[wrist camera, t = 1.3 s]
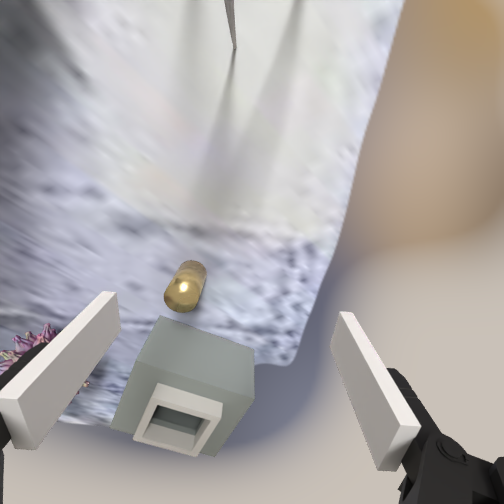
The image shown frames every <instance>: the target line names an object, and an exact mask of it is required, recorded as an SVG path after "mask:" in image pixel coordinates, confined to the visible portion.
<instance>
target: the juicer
mask: <svg viewBox="0 0 504 504" xmlns="http://www.w3.org/2000/svg"><path fill="white" fill-rule="evenodd" d="M224 1H225V7H226V12H227V18H228V23H229V28H230V33H231V38H232V43H233V48H234V50H235V49H236V34H235V16H234V0H224Z"/></svg>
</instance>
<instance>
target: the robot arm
mask: <svg viewBox="0 0 504 504" xmlns="http://www.w3.org/2000/svg"><path fill="white" fill-rule="evenodd" d="M120 331H121V326H120V318H119V310H118V301H117V293H116V292H107V291H102V292H101V293H100V294H99V295H98V296H97V297H96V298H95V299H94V300H93V301H92V302H91V303H90V304H89V305H88V306H87V307H86V308H85V309H84V310H83V311H82V312H81V313H80V314H79V315H78V316H77V317H76V318H75V319H74V320H73V321H72V322H71V323H70V324H69V325H67V326H66V327H65V328H64V329H63V330H62V331H61V332H60V333H59V334H58V335H57V336H56V337H55V338H54V339H53V340H52V341H51V342H50V343H46V342H41V343H39V344H38V345H36V346H34V347H33V348H31V349H29V350H28V351H26V352H25V353H24V354H23V355H22V356H21V357H20V358H19V359H18V360H17V362H14V363H13V364H12V365H11V366H10V367H9V368H8V370H6V371H5V372H3V373H2V374H1V375H0V504H3V472H4V470H3V469H4V454H3V451H2V449H3V448H4V447H5V445H6V444H7V443H8V442H9V441H10V439H11V440H12V443H13V445H14V448H15V449H26V450H36V449H37V448H38V447H39V445H40V444H41V443H42V441H43V440H44V438H45V437H46V435H47V434H48V433H49V431H50V430H51V428H52V427H53V426H54V424H55V423H56V421H57V420H58V419H59V417H60V416H61V414H62V413H63V412H64V410H65V409H66V407H67V406H68V405H69V403H70V402H71V400H72V399H73V397H74V396H75V395H76V393H77V392H78V390H79V389H80V388H81V386H82V385H83V383H84V382H85V381H86V379H87V378H88V376H89V375H90V374H91V372H92V371H93V369H94V368H95V366H96V365H97V364H98V362H99V361H100V359H101V358H102V357H103V355H104V354H105V352H106V351H107V350H108V348H109V347H110V345H111V344H112V343H113V341H114V340H115V338H116V337H117V336H118V334H119V333H120ZM330 349H331V352H332V355H333V357H334V360H335V362H336V365H337V368H338V370H339V373H340V375H341V378H342V380H343V383H344V385H345V388H346V391H347V393H348V396H349V398H350V401H351V403H352V406H353V409H354V411H355V414H356V416H357V419H358V422H359V424H360V427H361V429H362V432H363V434H364V437H365V440H366V442H367V445H368V447H369V450H370V453H371V455H372V457H373V460H374V463H375V465H376V468H377V470H378V471H397V469H398V468H399V466H400V464H401V463H402V465H403V467H404V469H405V471H406V473H407V474H406V476H405V478H404V480H403V481H402V483H401V485H400V486H399V488H398V490H399V491H401V495H400V500H399V504H504V457H499V458H498V459H497V460H496V461H495V462H494V464H493V463H490V462H488V461H485V460H482V459H480V458H477V457H474V456H472V455H469V454H467V453H466V451H465V450H464V449H463V448H462V447H461V446H460V445H459V444H458V443H457V442H456V441H454V440H453V439H452V438H450V437H448V436H446V435H444V434H442V433H441V432H440V430H439V428H438V427H437V425H436V424H435V422H434V421H433V419H432V418H431V416H430V415H429V413H428V412H427V410H426V409H425V407H424V406H423V404H422V403H421V401H420V400H419V399H418V398H417V395H416V394H415V392H414V391H413V390H412V388H411V386H410V385H409V383H408V382H407V380H406V379H405V377H404V376H402V375H401V374H400V373H399V372H398V371H397V370H396V369H394V368H385V366H384V364H383V362H382V361H381V359H380V358H379V356H378V354H377V353H376V351H375V349H374V348H373V346H372V344H371V343H370V341H369V340H368V338H367V336H366V334H365V333H364V331H363V329H362V328H361V326H360V325H359V323H358V321H357V320H356V318H355V316H354V315H353V313H352V312H339V316H338V319H337V323H336V326H335V330H334V333H333V337H332V340H331V344H330Z"/></svg>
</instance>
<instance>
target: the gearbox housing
mask: <svg viewBox="0 0 504 504" xmlns="http://www.w3.org/2000/svg"><path fill="white" fill-rule="evenodd" d="M254 399H255V386H254V349H251V348H249V347H246V346H243V345H240V344H238V343H235V342H232V341H229V340H227V339H224V338H221V337H218V336H216V335H213V334H210V333H207V332H205V331H202V330H199V329H196V328H194V327H191V326H188V325H185V324H182V323H180V322H177V321H174V320H171V319H169V318H166V317H163V316H159V318H158V320H157V322H156V324H155V326H154V328H153V329H152V331H151V333H150V335H149V337H148V339H147V341H146V342H145V344H144V346H143V348H142V350H141V352H140V354H139V356H138V357H137V359H136V361H135V364H134V366H133V369H132V372H131V374H130V377H129V379H128V382H127V384H126V387H125V390H124V392H123V395H122V397H121V400H120V402H119V405H118V408H117V410H116V413H115V415H114V418H113V420H112V423H111V426H110V428H111V429H115V430H118V431H122V432H126V433H129V434H133V435H134V437H133V440H135V441H138V442H142V443H146V444H149V445H153V446H157V447H161V448H164V449H168V450H172V451H175V452H179V453H183V454H186V455H190V456H194V457H197V455H198V454H199V453H203V454H206V455H210V456H213V457H215V456H216V455H217V453H218V452H219V450H220V449H221V447H222V446H223V444H224V443H225V442H226V440H227V439H228V437H229V436H230V434H231V433H232V431H233V430H234V428H235V427H236V426H237V424H238V423H239V421H240V420H241V418H242V417H243V415H244V414H245V413H246V411H247V410H248V408H249V407H250V405H251V404H252V402H253V401H254Z"/></svg>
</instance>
